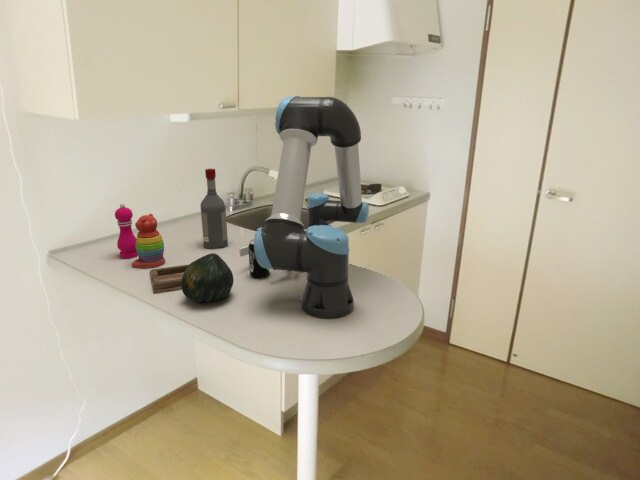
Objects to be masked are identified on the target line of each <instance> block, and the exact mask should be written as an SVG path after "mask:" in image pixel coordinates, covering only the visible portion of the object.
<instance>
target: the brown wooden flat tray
mask: <svg viewBox="0 0 640 480" xmlns="http://www.w3.org/2000/svg"><path fill="white" fill-rule="evenodd" d="M189 265H190V263H188V264H181V265H175V266H168V267H160V268H152V269H151V270H149V275H150V280H151V284H152V290H153V294H160V293H167V292H174V291H181V290H182V277H183V275H184V272H185V271H186V269H187V267H188V266H189Z"/></svg>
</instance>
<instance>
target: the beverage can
mask: <svg viewBox="0 0 640 480" xmlns="http://www.w3.org/2000/svg"><path fill="white" fill-rule="evenodd" d="M247 246H248V247H249V254H248V263H249V265H248V266H249V274H250V276H251V277H252V278H254V279H264V278H267V277H268V276H269V274H270V269H268V268H263V267H261V266H260V265H259V264H258V262H257V260H256V256H255V251H254V239H251V240H249V244H248V245H247Z"/></svg>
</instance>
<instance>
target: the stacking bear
mask: <svg viewBox="0 0 640 480" xmlns="http://www.w3.org/2000/svg"><path fill="white" fill-rule="evenodd" d="M134 226H135V228H136V230H138V232H137V234H136V251H137V254H138V256H137V257H138V258H136V260H134V261H132V263H131V266H132V268H135V269H151V268H152V269H154V268H157V267H161V266H163V265H165V263H166V259H165V257H164V254H165V253H164V252H165V243H164V240H163V237H162V234H161V233H160V232H159V230H157V228H158V221H157V218H155V217H154V215H153V213H149V214H145V215H141V216H140V217H139V218H138V220H137V221H136V222H135V223H134Z"/></svg>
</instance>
